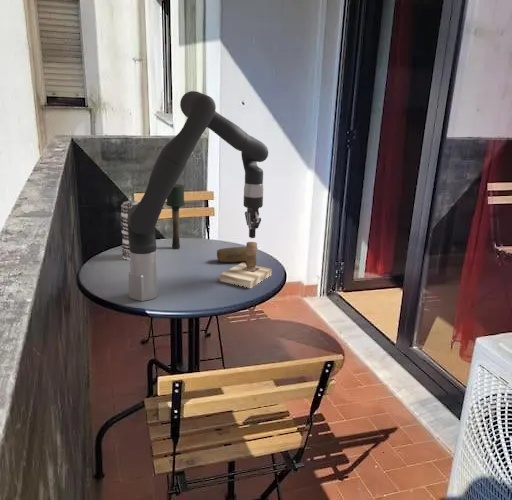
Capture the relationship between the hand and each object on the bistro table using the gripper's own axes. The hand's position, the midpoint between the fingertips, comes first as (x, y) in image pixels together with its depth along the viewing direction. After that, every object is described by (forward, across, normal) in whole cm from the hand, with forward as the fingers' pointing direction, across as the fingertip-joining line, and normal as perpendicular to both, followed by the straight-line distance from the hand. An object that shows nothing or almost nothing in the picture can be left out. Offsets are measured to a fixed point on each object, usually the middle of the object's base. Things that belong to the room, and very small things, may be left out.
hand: (252, 237), depth 195 cm
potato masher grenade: (+16, +44, +22) cm, 52 cm away
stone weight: (+17, +19, +1) cm, 26 cm away
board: (+16, -2, +3) cm, 17 cm away
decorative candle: (+16, +36, +43) cm, 58 cm away
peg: (+16, 0, 0) cm, 16 cm away
